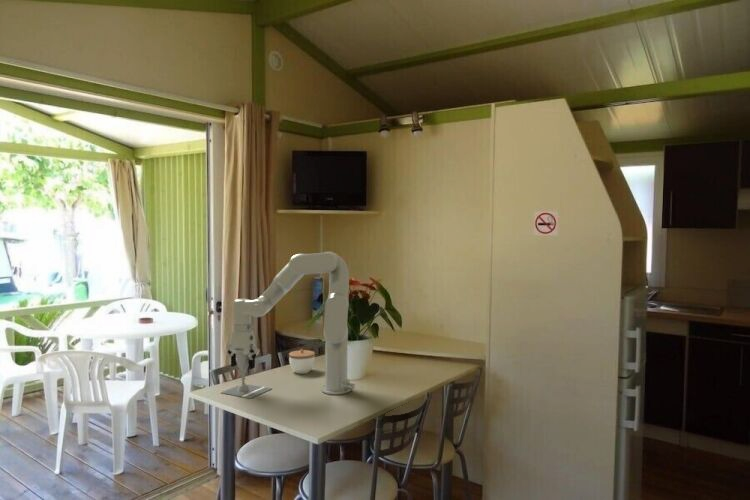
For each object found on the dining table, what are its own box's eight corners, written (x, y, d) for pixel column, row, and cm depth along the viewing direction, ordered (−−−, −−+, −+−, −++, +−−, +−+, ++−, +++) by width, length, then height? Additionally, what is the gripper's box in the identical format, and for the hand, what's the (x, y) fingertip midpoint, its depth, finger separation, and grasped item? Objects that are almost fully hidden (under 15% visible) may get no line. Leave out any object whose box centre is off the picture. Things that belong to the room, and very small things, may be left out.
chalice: (235, 393, 212) (235, 350, 211) (233, 388, 218) (233, 347, 217) (253, 391, 215) (253, 349, 214) (250, 386, 221) (250, 346, 220)
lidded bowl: (307, 376, 238) (307, 353, 238) (284, 373, 242) (284, 351, 242) (319, 369, 250) (319, 347, 249) (297, 367, 254) (296, 345, 254)
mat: (271, 389, 218) (271, 388, 218) (250, 398, 206) (250, 397, 206) (242, 384, 225) (242, 383, 225) (220, 393, 213) (220, 392, 213)
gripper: (264, 327, 215) (264, 367, 216) (232, 324, 223) (233, 362, 223) (252, 330, 208) (253, 371, 209) (220, 327, 216) (221, 367, 216)
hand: (242, 367), depth 216 cm, fingers open, 9 cm apart
